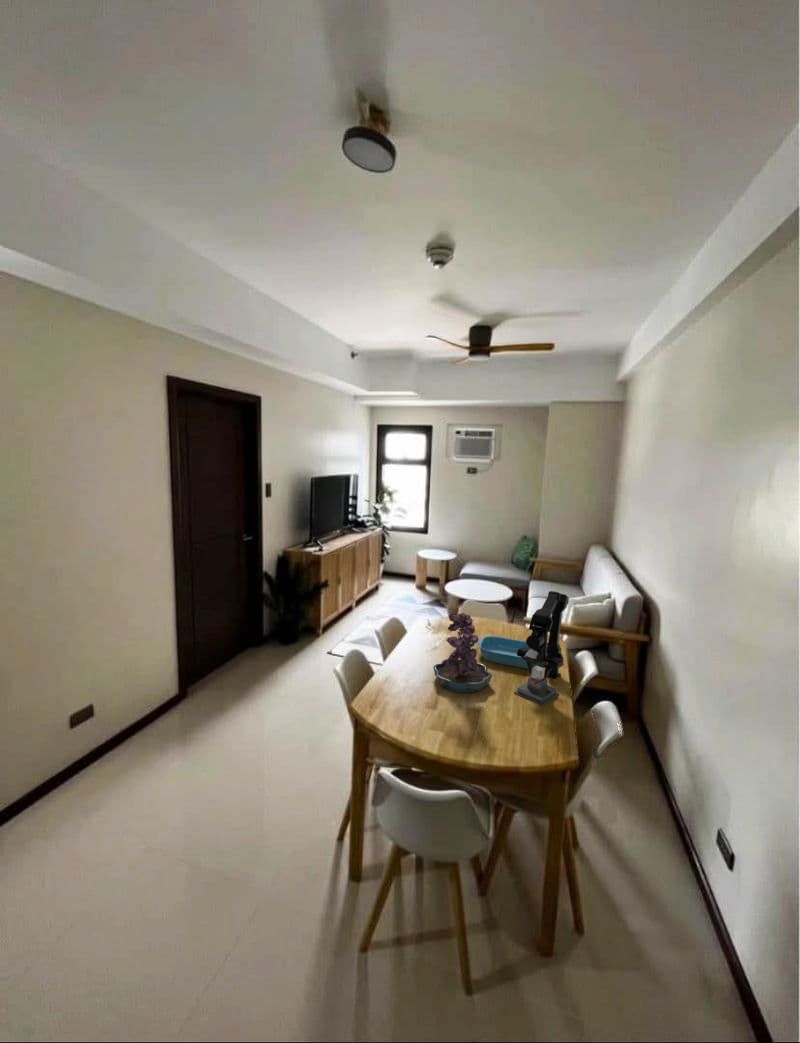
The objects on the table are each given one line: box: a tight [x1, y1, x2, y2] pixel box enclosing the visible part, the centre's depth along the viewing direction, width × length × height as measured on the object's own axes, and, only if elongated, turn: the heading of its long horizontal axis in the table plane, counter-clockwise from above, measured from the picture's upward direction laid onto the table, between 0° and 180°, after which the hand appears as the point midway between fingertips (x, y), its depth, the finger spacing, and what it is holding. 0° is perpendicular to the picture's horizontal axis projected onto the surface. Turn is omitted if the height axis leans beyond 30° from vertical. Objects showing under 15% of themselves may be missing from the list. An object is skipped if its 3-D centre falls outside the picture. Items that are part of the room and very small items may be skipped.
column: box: [530, 666, 545, 682], centre depth 188 cm, size 4×4×11 cm
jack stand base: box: [513, 676, 560, 706], centre depth 189 cm, size 14×14×7 cm
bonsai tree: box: [432, 612, 493, 693], centre depth 193 cm, size 35×27×32 cm
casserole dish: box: [476, 635, 545, 670], centre depth 223 cm, size 37×22×7 cm, turn 69°
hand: (537, 676), depth 188 cm, fingers open, 6 cm apart
